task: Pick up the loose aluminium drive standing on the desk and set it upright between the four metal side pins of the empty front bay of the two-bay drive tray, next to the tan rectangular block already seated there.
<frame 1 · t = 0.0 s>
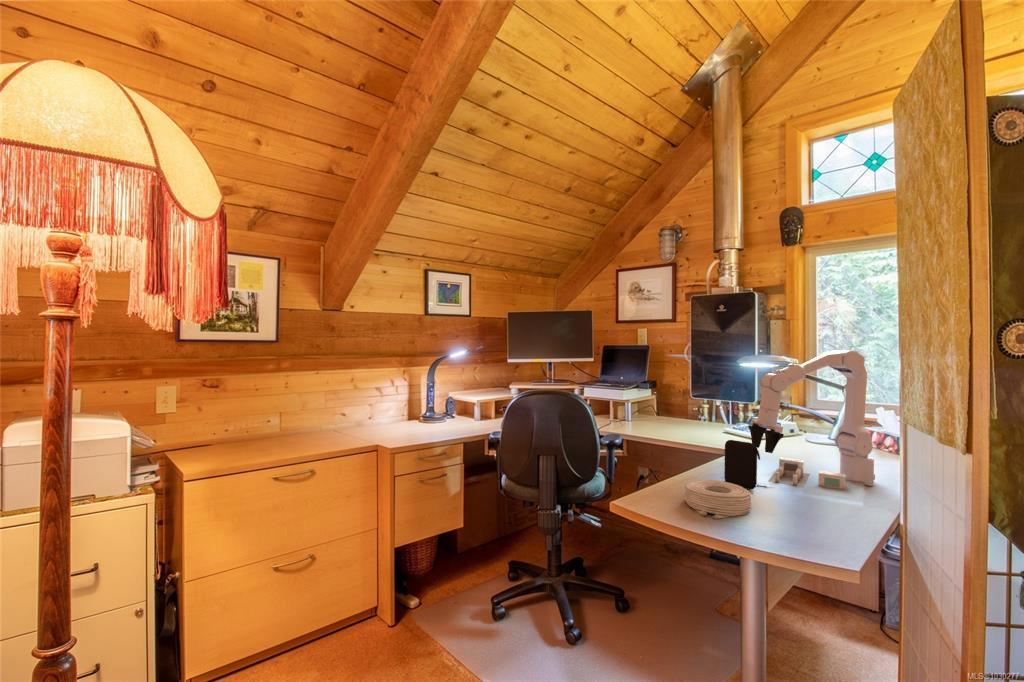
hand: (761, 449, 159), 11 cm above the table, tool pointing down, fingers open, 7 cm apart
drive tray: (789, 480, 161), on the table
loose drive: (832, 489, 152), on the table
tan rectangular block: (791, 474, 165), point 1 cm above the table, touching drive tray
cable: (716, 508, 135), on the table
carrying case or bag: (741, 488, 152), on the table
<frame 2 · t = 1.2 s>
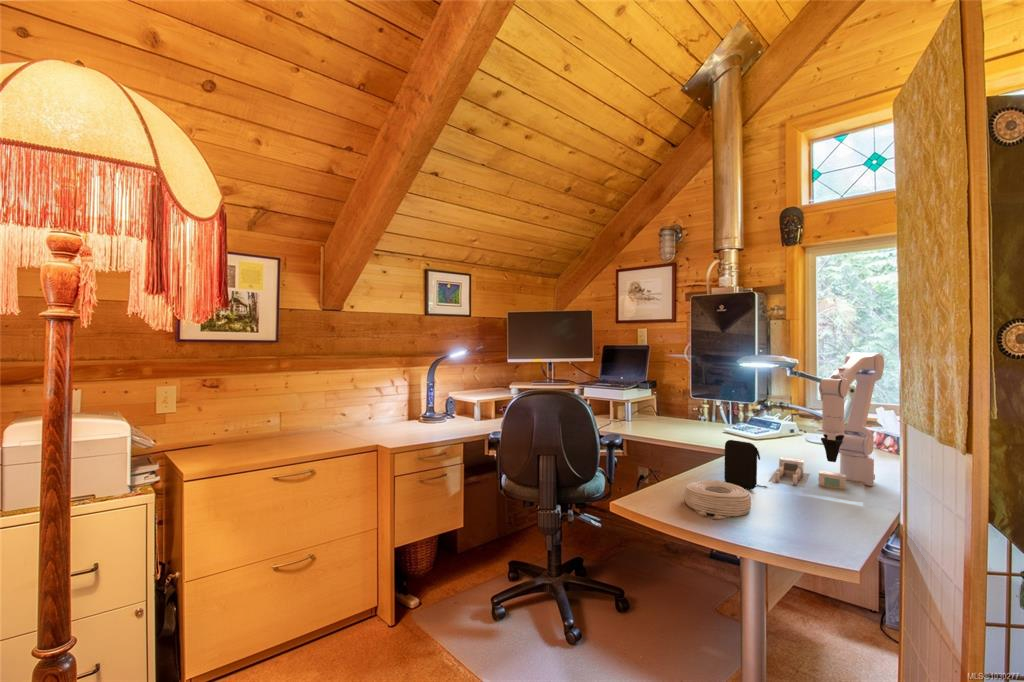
hand: (832, 459, 152), 9 cm above the table, tool pointing down, fingers open, 7 cm apart
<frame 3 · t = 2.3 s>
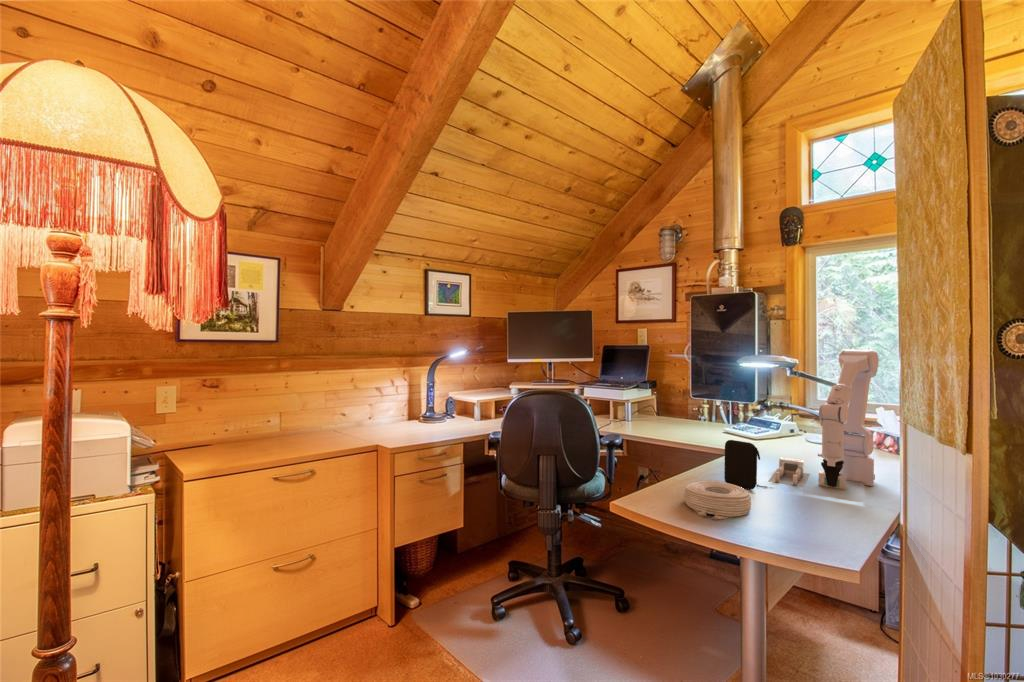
hand: (832, 484, 152), 1 cm above the table, tool pointing down, fingers closed on loose drive, 4 cm apart
loose drive: (832, 489, 152), on the table, touching gripper
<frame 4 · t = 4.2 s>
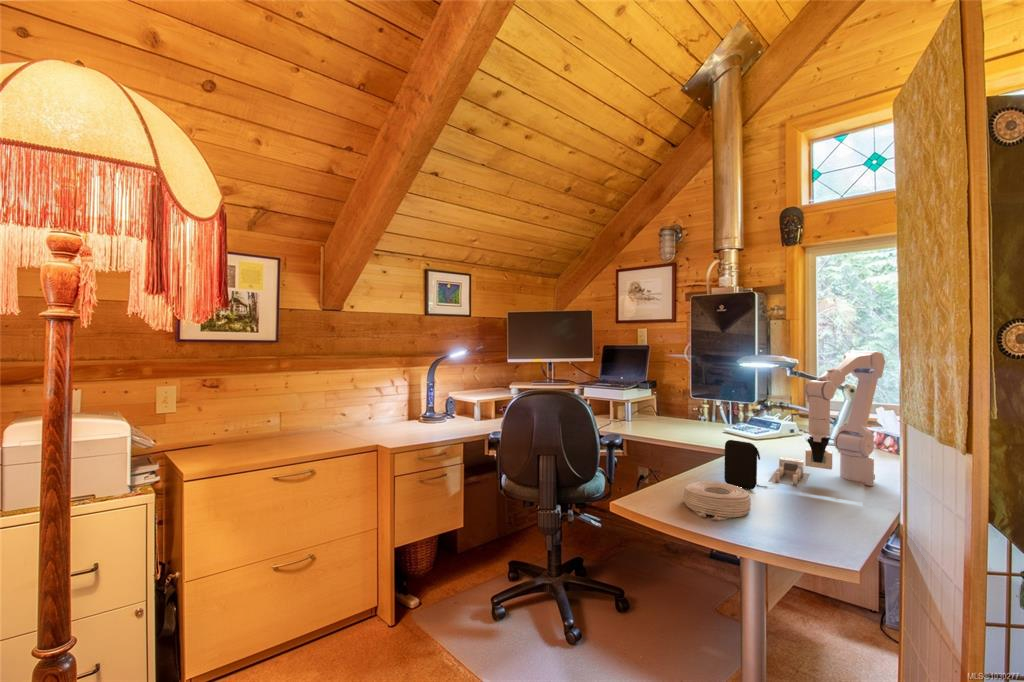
hand: (818, 460, 154), 8 cm above the table, tool pointing down, fingers closed on loose drive, 4 cm apart
loose drive: (818, 466, 154), point 7 cm above the table, touching gripper
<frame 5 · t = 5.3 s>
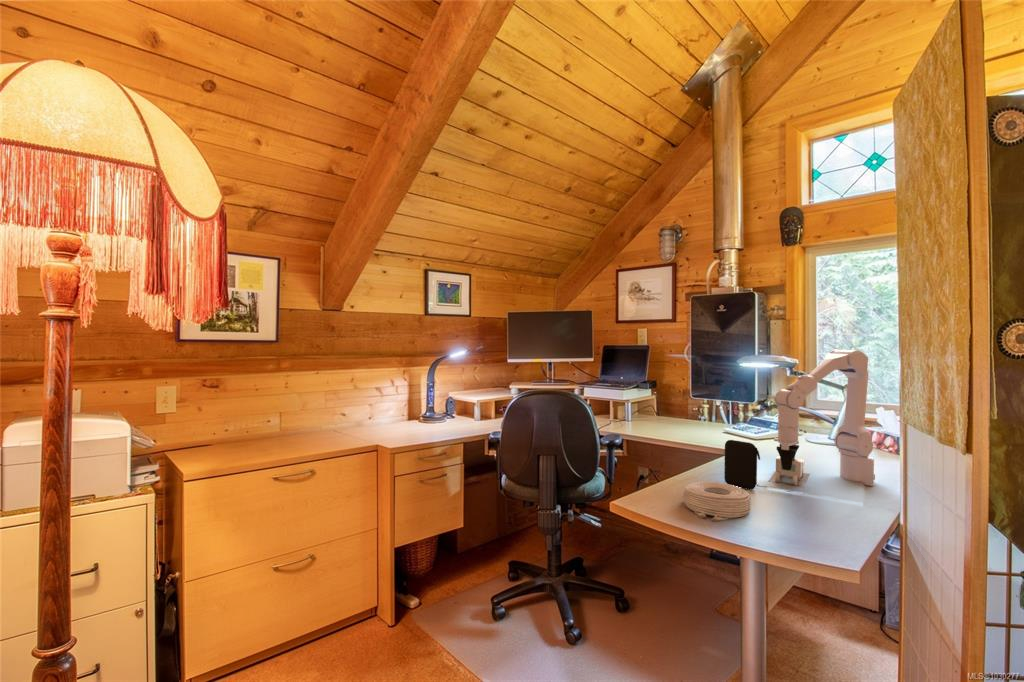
hand: (787, 468, 157), 5 cm above the table, tool pointing down, fingers closed on loose drive, 4 cm apart
loose drive: (788, 474, 157), point 3 cm above the table, touching gripper
when the fingers open (4 cm above the table, at t = 5.9 s): loose drive stays where it is, resting on drive tray.
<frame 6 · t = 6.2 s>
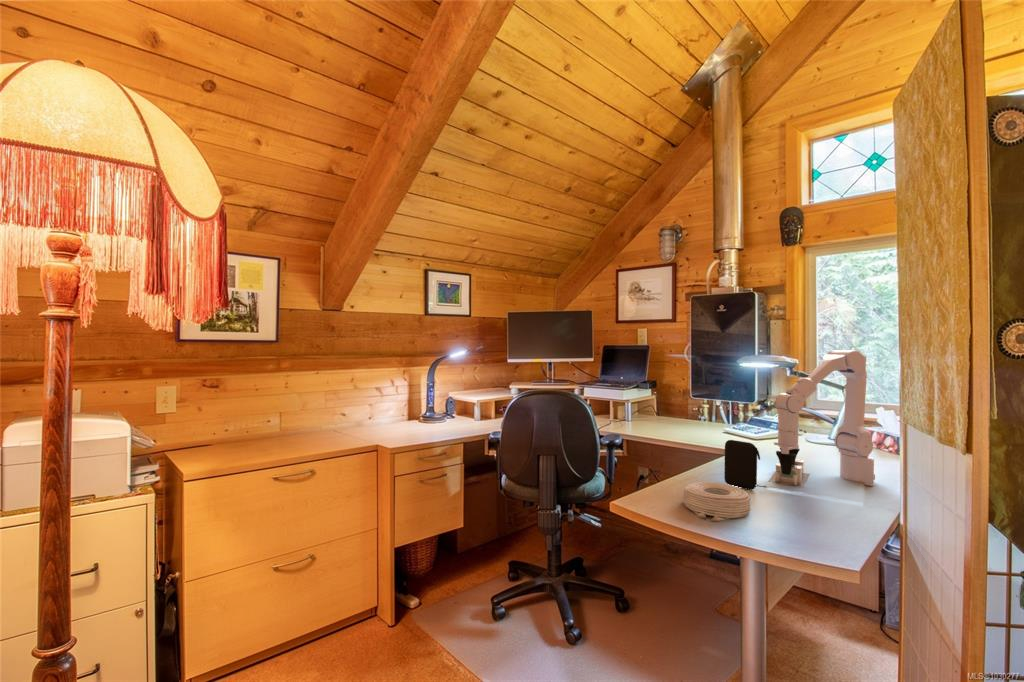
hand: (787, 472, 157), 4 cm above the table, tool pointing down, fingers open, 6 cm apart
loose drive: (788, 481, 157), point 1 cm above the table, touching drive tray
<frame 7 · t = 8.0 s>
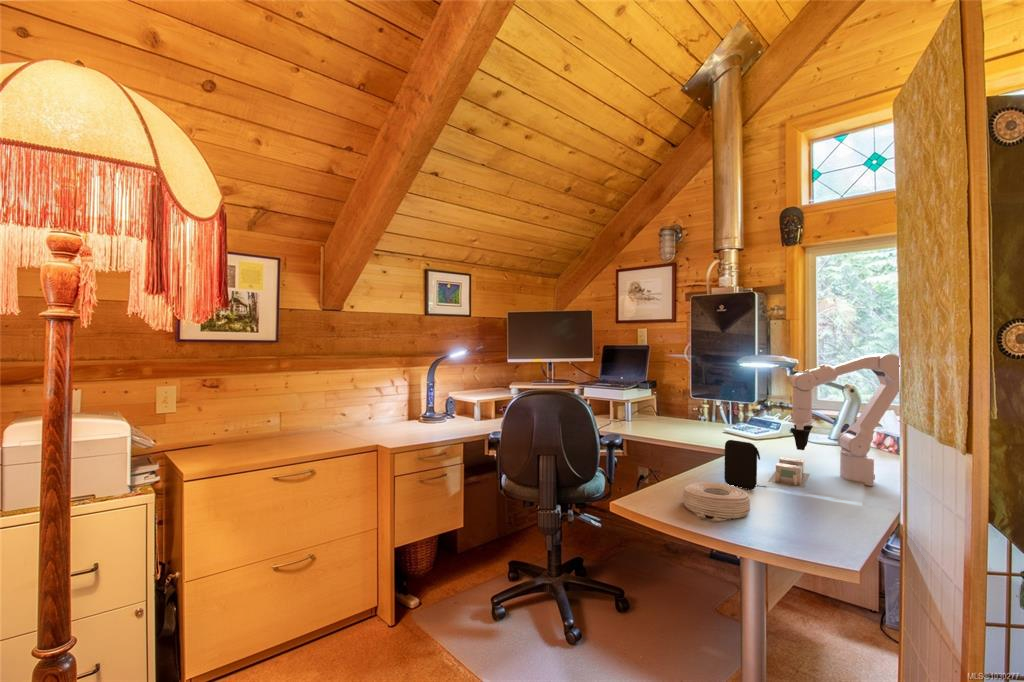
hand: (801, 447, 165), 10 cm above the table, tool pointing down, fingers open, 7 cm apart
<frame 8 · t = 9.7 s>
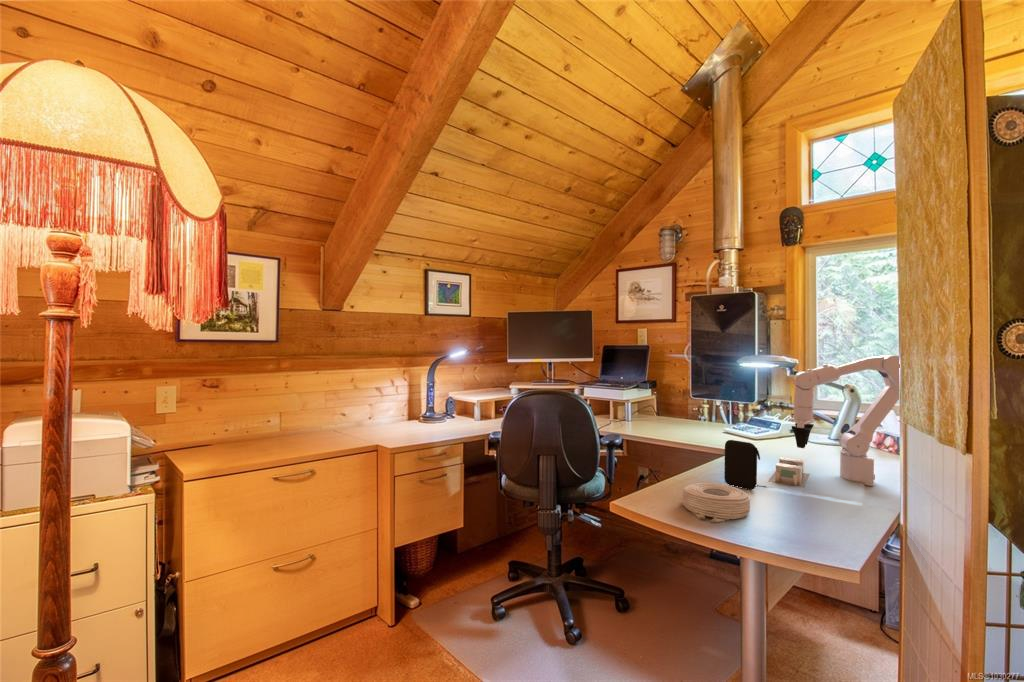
hand: (802, 445, 167), 10 cm above the table, tool pointing down, fingers open, 7 cm apart
at the end: loose drive 0.3 cm from the target spot on the drive tray, point 1.0 cm above the drive tray's base; loose drive tilted 0°; the gripper is holding nothing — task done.
